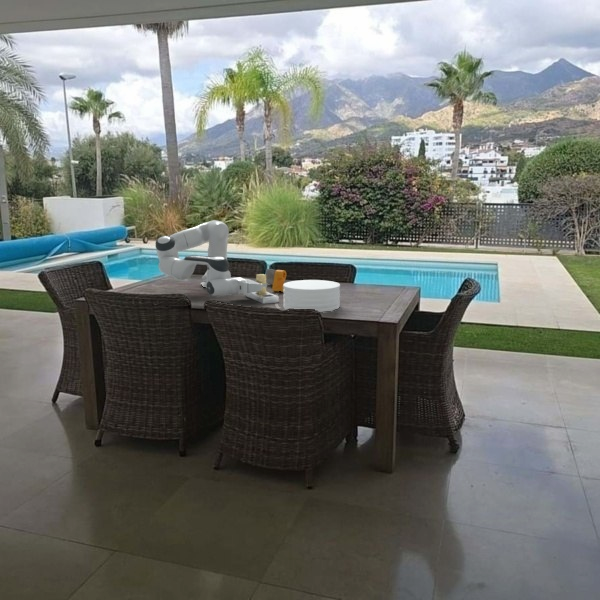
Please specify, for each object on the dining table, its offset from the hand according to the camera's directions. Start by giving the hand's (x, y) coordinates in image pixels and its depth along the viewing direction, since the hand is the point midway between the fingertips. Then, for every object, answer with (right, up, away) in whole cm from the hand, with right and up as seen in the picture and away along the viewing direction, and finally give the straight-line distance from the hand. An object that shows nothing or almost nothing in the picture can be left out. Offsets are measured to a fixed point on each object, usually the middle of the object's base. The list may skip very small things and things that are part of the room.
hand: (262, 283), depth 307 cm
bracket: (+10, -4, +24) cm, 26 cm away
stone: (+5, 0, +42) cm, 42 cm away
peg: (-1, -8, +1) cm, 8 cm away
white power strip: (-1, -8, +1) cm, 8 cm away
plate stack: (+25, -12, -19) cm, 34 cm away
